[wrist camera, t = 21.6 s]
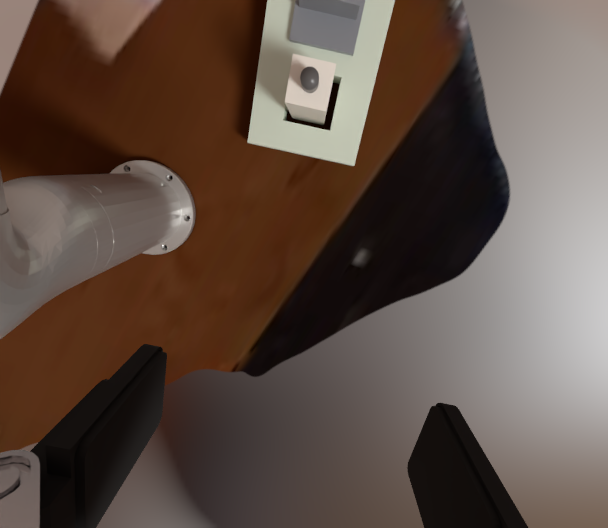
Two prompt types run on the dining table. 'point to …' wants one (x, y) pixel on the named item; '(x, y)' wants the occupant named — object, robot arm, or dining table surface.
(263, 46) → the socket board
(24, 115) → the dining table surface
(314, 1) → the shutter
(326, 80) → the plug
